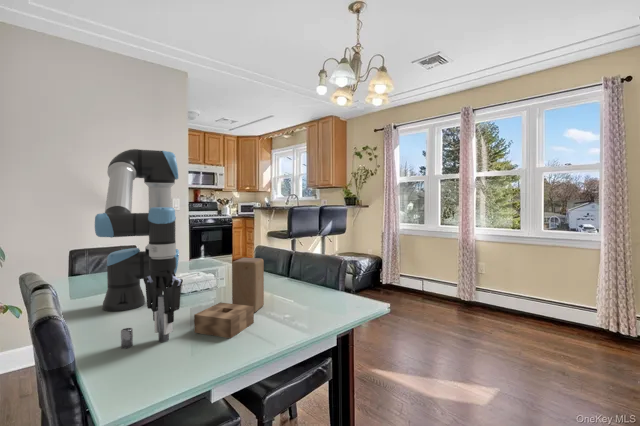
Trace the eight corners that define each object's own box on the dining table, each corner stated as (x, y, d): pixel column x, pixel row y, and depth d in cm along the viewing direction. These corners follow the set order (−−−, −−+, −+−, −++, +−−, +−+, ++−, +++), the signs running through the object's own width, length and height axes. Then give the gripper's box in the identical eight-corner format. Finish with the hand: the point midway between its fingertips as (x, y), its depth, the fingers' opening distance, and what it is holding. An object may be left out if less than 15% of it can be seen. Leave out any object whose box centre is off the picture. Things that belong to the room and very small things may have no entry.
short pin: (118, 347, 97) (118, 331, 97) (127, 343, 100) (127, 327, 100) (126, 349, 96) (126, 332, 96) (135, 345, 99) (134, 328, 99)
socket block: (194, 332, 108) (194, 314, 108) (220, 318, 122) (220, 302, 121) (231, 338, 104) (230, 319, 104) (253, 323, 117) (253, 306, 117)
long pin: (156, 341, 101) (155, 296, 101) (163, 337, 104) (163, 293, 104) (163, 342, 100) (163, 297, 100) (171, 338, 103) (170, 294, 103)
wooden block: (255, 313, 127) (254, 262, 126) (231, 312, 129) (230, 261, 128) (264, 305, 137) (264, 258, 136) (242, 304, 139) (242, 257, 138)
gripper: (132, 257, 101) (133, 333, 101) (174, 260, 95) (175, 340, 96) (152, 254, 108) (153, 324, 108) (192, 256, 103) (193, 330, 103)
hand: (163, 331), depth 102 cm, fingers closed on long pin, 3 cm apart
